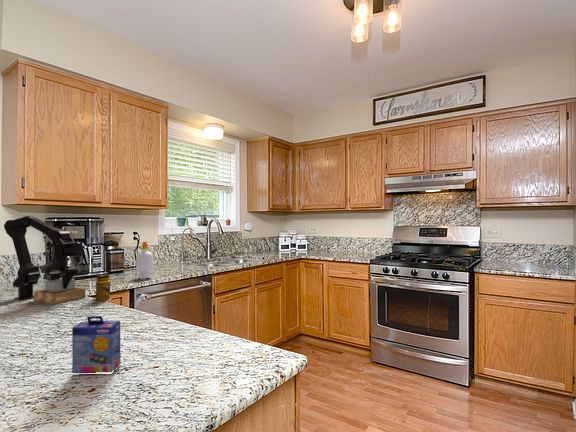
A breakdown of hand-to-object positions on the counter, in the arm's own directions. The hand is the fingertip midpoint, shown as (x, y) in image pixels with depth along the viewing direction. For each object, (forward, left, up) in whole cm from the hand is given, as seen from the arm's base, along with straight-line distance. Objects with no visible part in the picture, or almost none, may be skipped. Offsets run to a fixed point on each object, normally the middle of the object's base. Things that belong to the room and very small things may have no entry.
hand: (60, 288), depth 164 cm
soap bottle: (-8, +60, -6) cm, 60 cm away
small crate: (0, 0, -1) cm, 1 cm away
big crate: (0, 0, -5) cm, 5 cm away
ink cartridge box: (+88, -46, -6) cm, 100 cm away
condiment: (+20, +7, -6) cm, 22 cm away
